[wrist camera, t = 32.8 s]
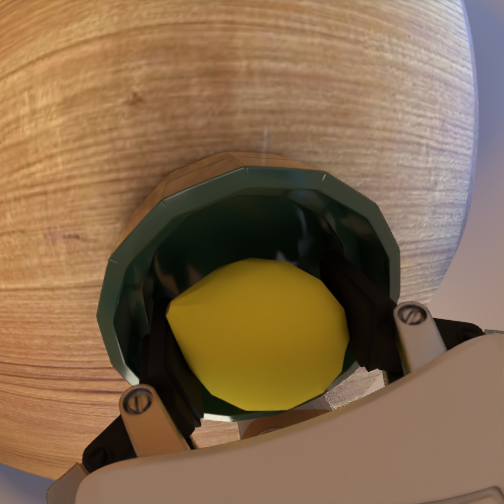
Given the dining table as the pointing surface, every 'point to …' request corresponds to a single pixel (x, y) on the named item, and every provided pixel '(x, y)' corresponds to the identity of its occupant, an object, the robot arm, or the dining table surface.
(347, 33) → the dining table surface
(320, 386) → the lemon
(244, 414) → the bowl
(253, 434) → the coffee cup
